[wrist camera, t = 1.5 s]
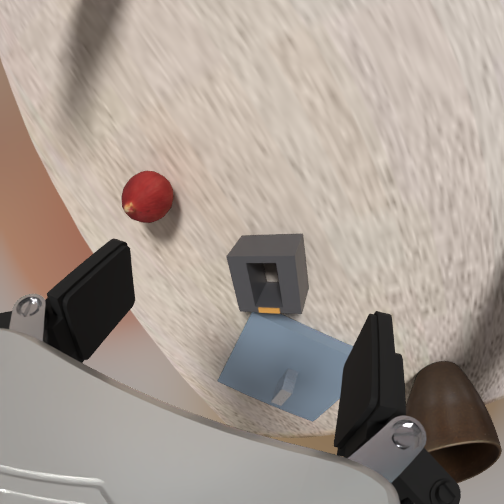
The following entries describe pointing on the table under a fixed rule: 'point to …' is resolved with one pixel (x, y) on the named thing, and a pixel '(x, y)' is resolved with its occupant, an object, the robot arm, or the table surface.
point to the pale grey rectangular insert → (284, 387)
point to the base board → (287, 364)
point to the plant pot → (453, 421)
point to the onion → (147, 197)
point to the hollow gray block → (254, 279)
